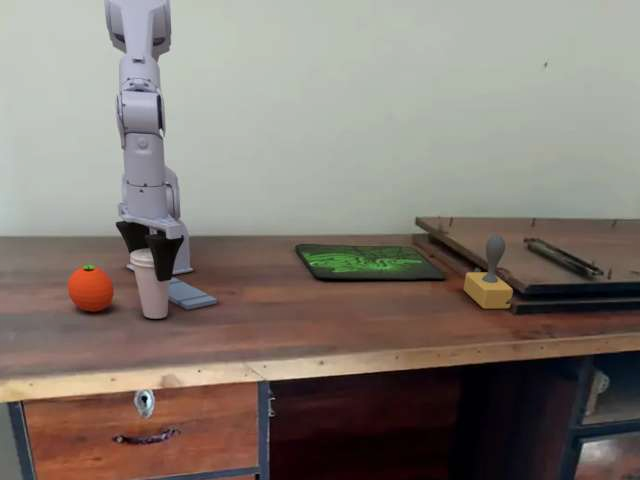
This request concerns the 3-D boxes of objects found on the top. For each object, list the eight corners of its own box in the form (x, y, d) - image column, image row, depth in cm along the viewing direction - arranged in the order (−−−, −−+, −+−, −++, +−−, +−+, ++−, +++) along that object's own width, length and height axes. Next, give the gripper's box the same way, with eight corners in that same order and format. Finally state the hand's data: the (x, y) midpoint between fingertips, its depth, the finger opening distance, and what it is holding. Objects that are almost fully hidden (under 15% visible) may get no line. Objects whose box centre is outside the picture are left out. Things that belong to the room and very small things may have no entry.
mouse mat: (412, 248, 172) (413, 243, 171) (449, 280, 154) (450, 275, 154) (292, 248, 163) (292, 243, 163) (316, 282, 146) (317, 276, 146)
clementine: (72, 300, 128) (66, 257, 124) (116, 300, 130) (112, 258, 126) (69, 318, 122) (63, 273, 118) (115, 317, 123) (110, 273, 120)
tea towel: (175, 281, 140) (174, 277, 140) (217, 303, 133) (217, 298, 132) (145, 287, 136) (145, 282, 136) (187, 309, 129) (186, 305, 129)
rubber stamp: (510, 308, 144) (523, 243, 137) (482, 309, 142) (493, 243, 136) (489, 290, 152) (500, 228, 145) (462, 290, 150) (472, 227, 144)
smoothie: (183, 312, 127) (178, 224, 119) (161, 324, 122) (155, 234, 114) (149, 304, 128) (142, 217, 121) (126, 316, 123) (118, 226, 116)
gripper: (96, 174, 116) (105, 264, 123) (148, 196, 107) (154, 291, 115) (138, 170, 120) (145, 258, 127) (191, 191, 112) (195, 283, 119)
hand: (152, 273), depth 122 cm, fingers closed on smoothie, 6 cm apart
